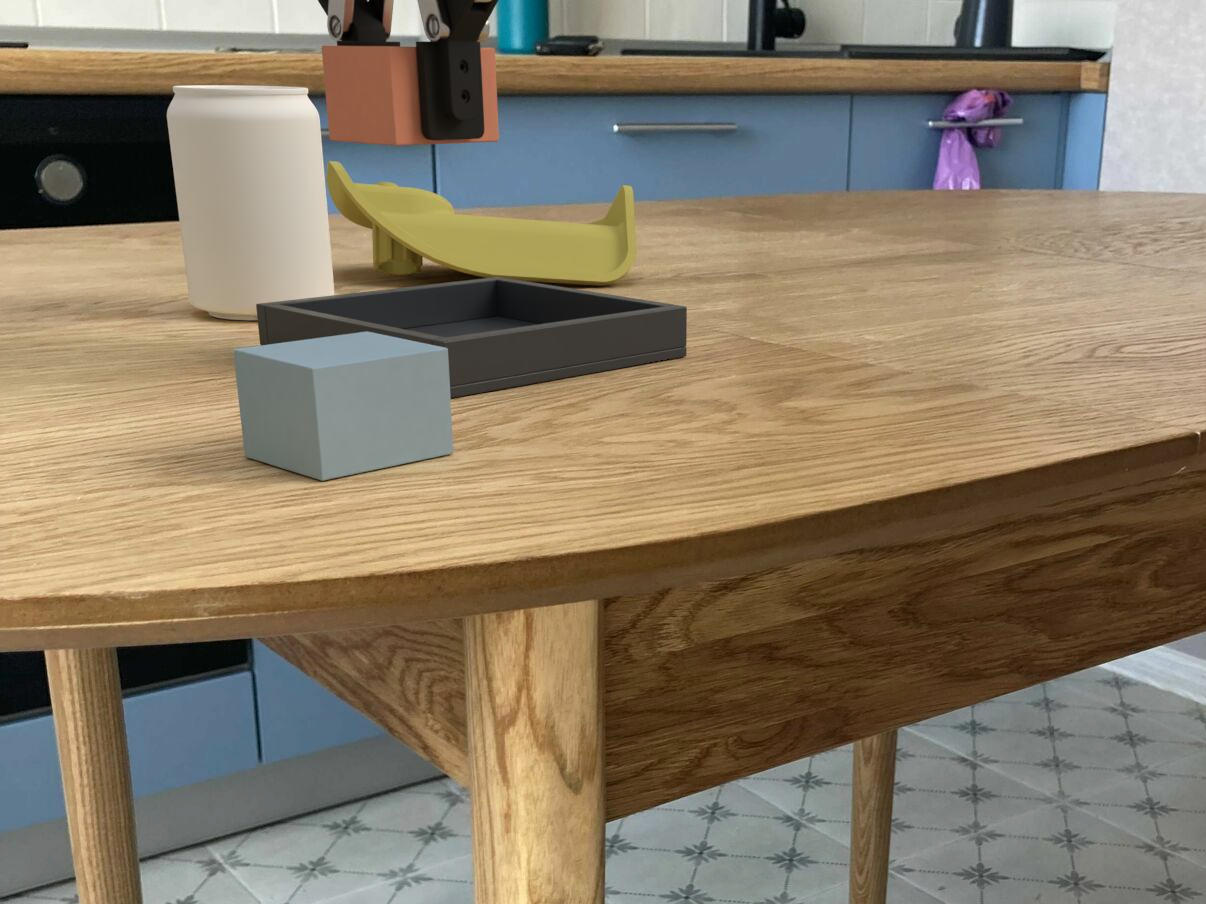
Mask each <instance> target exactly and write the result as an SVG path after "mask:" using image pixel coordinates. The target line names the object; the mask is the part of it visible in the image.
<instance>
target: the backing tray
mask: <svg viewBox="0 0 1206 904" xmlns="http://www.w3.org/2000/svg"><path fill="white" fill-rule="evenodd" d="M256 309H257V319H258V320H257V327H258V328H257V329H258V337H259V346H262V345H269V344H277V343H284V342H292V341H299V340H307V339H314V338H322V337H329V336H337V335H344V334H352V333H359V332H367V331H368V332H372V333H377V334H382V335H387V336H392V337H396V338H401V339H406V340H411V341H416V342H421V343H425V344H430V345H435V346H440V347H445V348H447V349H448V361H449V379H450V398H451V399H453V398H458V397H464V396H471V395H475V394H482V393H488V392H492V391H499V390H504V389H510V388H516V387H521V386H527V385H533V384H538V383H544V382H549V381H555V380H562V379H567V378H572V377H578V376H583V375H584V376H585V375H590V374H595V373H600V372H606V371H612V370H617V369H623V368H628V367H634V366H640V365H646V364H651V363H650V362H652V363H656V362H655V361H657V362H662V361H661V360H663V361H668V360H667V359H669V360H673V359H679V358H685V357H687V328H688V327H687V323H688V322H687V321H688V320H687V318H688V311H687V310H688V308H687V306H685V305H681V304H680V305H679V304H672V303H668V302H667V303H666V302H660V301H654V300H647V299H639V298H634V297H628V296H621V295H616V294H610V293H603V292H597V291H590V290H583V289H579V288H578V289H577V288H570V287H565V286H558V285H552V284H546V283H541V282H533V281H520V280H514V279H508V278H507V279H506V278H501V277H493V278H485V277H483V278H478V279H476V278H475V279H468V280H458V281H450V282H449V281H448V282H440V283H432V284H431V283H430V284H423V285H413V286H405V287H396V288H387V289H386V288H385V289H379V290H370V291H360V292H352V293H351V292H350V293H341V294H335V295H332V296H323V297H314V298H305V299H296V300H287V301H278V302H269V303H260V304H256ZM645 363H646V364H645Z"/></svg>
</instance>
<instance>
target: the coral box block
mask: <svg viewBox="0 0 1206 904" xmlns="http://www.w3.org/2000/svg"><path fill="white" fill-rule="evenodd" d="M480 49H481V69H482V89H483V109H484V134H483V136H482V137H481V138H479V139H456V140H428V139H426V138H425V137H424V136H423V134H422V128H421V113H420V98H419V82H418V67H417V52H416V46H400V47H398V46H337V45H322V46H321V57H322V67H323V68H322V70H323V80H324V93H325V102H326V113H327V115H326V116H327V124H328V125H327V126H328V137H329V141H331V142H338V143H339V142H340V143H355V144H366V145H381V146H395V147H396V146H398V147H399V146H424V145H447V144H448V145H449V144H471V143H472V144H474V143H495V142H499V140H500V133H499V132H500V131H499V129H500V128H499V110H498V108H499V107H498V88H497V87H498V85H497V67H496V66H497V65H496V49H495V48H494V47H480Z"/></svg>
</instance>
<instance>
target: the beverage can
mask: <svg viewBox="0 0 1206 904" xmlns="http://www.w3.org/2000/svg"><path fill="white" fill-rule="evenodd" d="M172 92H173V93H174V95H173V98H172V100H171V101H170V103H169V105H168V107H167V111H166V121H167V129H168V139H169V145H170V153H171V154H170V155H171V162H172V168H173V169H172V170H173V178H174V187H175V195H176V203H177V212H178V221H179V228H180V229H179V230H180V235H181V243H182V253H183V261H184V268H185V269H184V270H185V277H186V278H185V279H186V284H187V285H186V286H187V293H188V294H187V295H188V300H189V303H190V304H191V306H192V307H194V308H196V309H198V310H201V311H204V312H207V313H208V315H209V316H211V317H212V318H218V319H223V320H224V319H225V320H232V321H258V319H257V309H256V304H260V303H269V302H278V301H287V300H296V299H305V298H314V297H323V296H332V295H336V294H335V283H334V282H335V281H334V273H333V271H334V270H333V261H332V260H333V259H332V248H331V247H332V246H331V237H330V235H331V234H330V226H329V225H330V224H329V213H328V200H327V189H326V178H325V177H326V176H325V165H324V153H323V142H322V141H323V140H322V130H321V119H320V114H319V111H318V109H317V107H316V106H315V105H314V103H313V102H312V100H311V99H310V98H309V95H308V94H309V88H308V87H303V86H283V85H242V84H241V85H235V84H234V85H231V84H229V85H228V84H227V85H226V84H223V85H222V84H219V85H218V84H216V85H215V84H212V85H211V84H210V85H209V84H207V85H206V84H200V85H199V84H198V85H197V84H195V85H193V84H192V85H191V84H189V85H173V86H172Z"/></svg>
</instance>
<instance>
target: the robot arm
mask: <svg viewBox="0 0 1206 904" xmlns="http://www.w3.org/2000/svg"><path fill="white" fill-rule="evenodd" d="M416 1H417V4H418V9H419V14H420V18H421V22H422V26H423V30H424V31H423V32H424V35H425V37H426V38H427V39H428V40H429V41H415V47H416V52H417V67H418V82H419V98H420V113H421V128H422V134H423V136H424V137H425V138H426V139H428V140H456V139H479V138H481V137H482V136H483V134H484V109H483V89H482V69H481V49H480V48H481V43H485V42H486V41H487V40H488V39H489V35H490V31H491V30H490V29H491V25H490V21H489V19H490V17H491V15H492V13H493V11H494V9H495V7H496V6H497V4H498V2H499V0H416ZM317 2H318V4H319V5H320V7H321V9H322V10H323V11H324V13H325V15H326V16H327V18H326V19H327V22H326V23H327V24H326V28H327V32H328V35H329V36H330V38H331V40H333V41H336V46H398V47H401V41H388V40H389V39H390V37H391V33H392V22H393V15H394V14H393V13H394V12H393V11H394V3H395V0H317Z"/></svg>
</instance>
